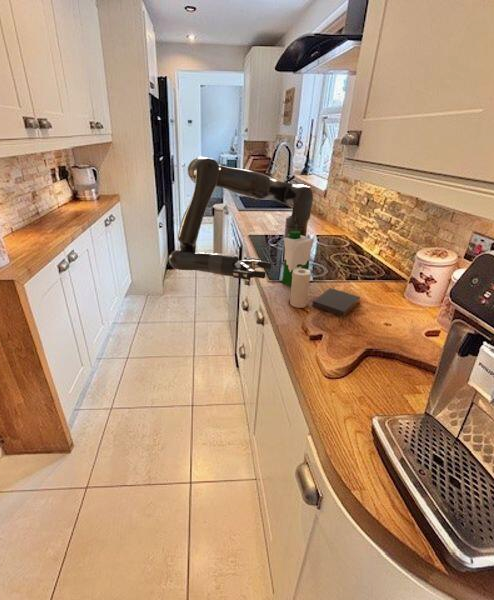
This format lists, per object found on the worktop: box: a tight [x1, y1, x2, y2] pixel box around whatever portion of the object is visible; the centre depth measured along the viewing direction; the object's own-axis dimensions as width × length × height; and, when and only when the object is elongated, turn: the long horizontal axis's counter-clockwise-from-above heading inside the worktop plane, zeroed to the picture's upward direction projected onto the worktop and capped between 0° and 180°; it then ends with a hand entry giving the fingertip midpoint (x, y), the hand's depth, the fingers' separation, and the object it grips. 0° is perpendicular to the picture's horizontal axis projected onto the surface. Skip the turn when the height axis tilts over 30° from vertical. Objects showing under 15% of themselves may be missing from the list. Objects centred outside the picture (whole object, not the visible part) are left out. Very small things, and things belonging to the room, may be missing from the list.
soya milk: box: [281, 230, 315, 287], centre depth 122 cm, size 9×9×20 cm
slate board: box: [311, 287, 361, 318], centre depth 111 cm, size 13×11×2 cm
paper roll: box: [289, 268, 312, 309], centre depth 109 cm, size 6×6×12 cm
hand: (268, 270), depth 110 cm, fingers open, 8 cm apart
